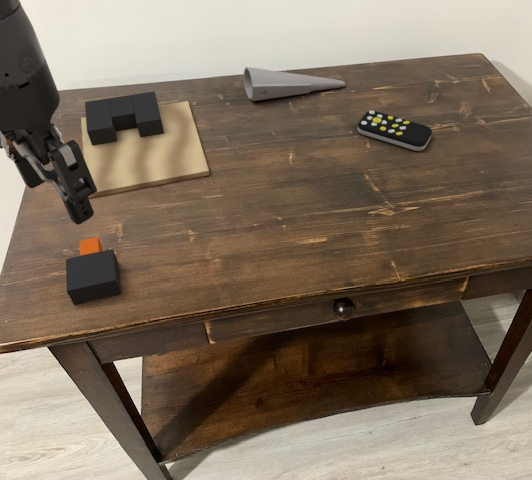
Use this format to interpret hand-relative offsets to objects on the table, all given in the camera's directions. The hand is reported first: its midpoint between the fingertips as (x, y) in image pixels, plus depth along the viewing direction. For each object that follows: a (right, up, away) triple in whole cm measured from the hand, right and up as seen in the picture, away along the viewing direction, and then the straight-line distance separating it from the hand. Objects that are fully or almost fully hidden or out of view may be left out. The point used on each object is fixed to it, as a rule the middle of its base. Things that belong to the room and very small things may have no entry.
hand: (60, 200), depth 57 cm
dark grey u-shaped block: (-6, +16, +37) cm, 40 cm away
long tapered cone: (+23, +25, +48) cm, 59 cm away
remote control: (+41, +15, +38) cm, 58 cm away
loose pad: (-2, -9, +15) cm, 18 cm away
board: (-2, +12, +34) cm, 36 cm away
